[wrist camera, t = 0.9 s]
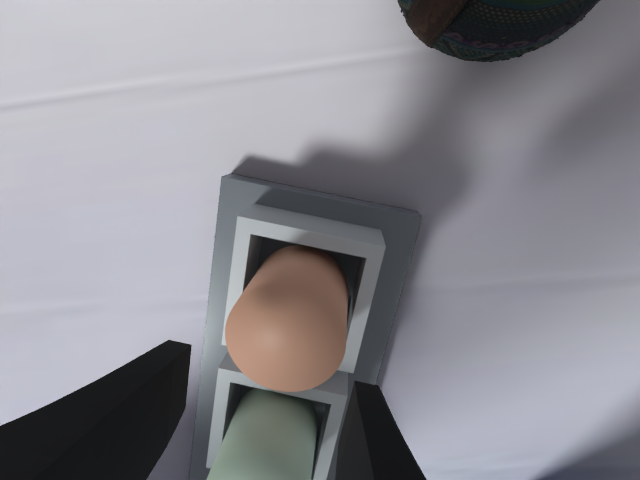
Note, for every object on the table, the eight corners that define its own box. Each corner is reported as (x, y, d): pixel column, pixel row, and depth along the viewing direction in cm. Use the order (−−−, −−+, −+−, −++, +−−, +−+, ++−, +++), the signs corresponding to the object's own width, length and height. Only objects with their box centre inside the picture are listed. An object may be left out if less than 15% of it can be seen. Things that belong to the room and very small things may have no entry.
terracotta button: (337, 339, 17) (332, 402, 13) (249, 320, 17) (219, 377, 13) (357, 256, 15) (358, 298, 12) (262, 236, 15) (232, 271, 12)
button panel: (328, 536, 24) (324, 607, 20) (192, 504, 24) (164, 569, 21) (417, 211, 17) (433, 233, 14) (230, 173, 18) (199, 184, 14)
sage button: (309, 459, 19) (298, 545, 15) (231, 442, 19) (200, 522, 15) (325, 394, 17) (316, 469, 14) (241, 376, 18) (210, 445, 14)
